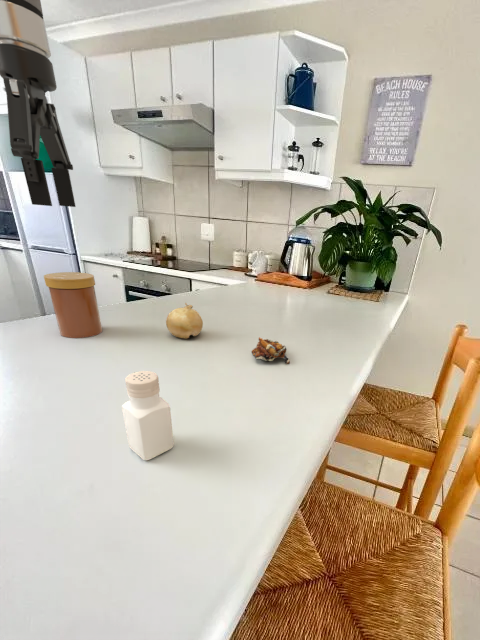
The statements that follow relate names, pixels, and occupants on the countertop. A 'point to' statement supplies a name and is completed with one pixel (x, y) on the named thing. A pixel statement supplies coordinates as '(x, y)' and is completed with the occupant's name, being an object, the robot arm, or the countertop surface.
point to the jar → (76, 312)
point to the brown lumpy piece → (270, 350)
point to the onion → (184, 322)
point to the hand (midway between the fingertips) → (56, 206)
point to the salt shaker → (147, 416)
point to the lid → (69, 280)
